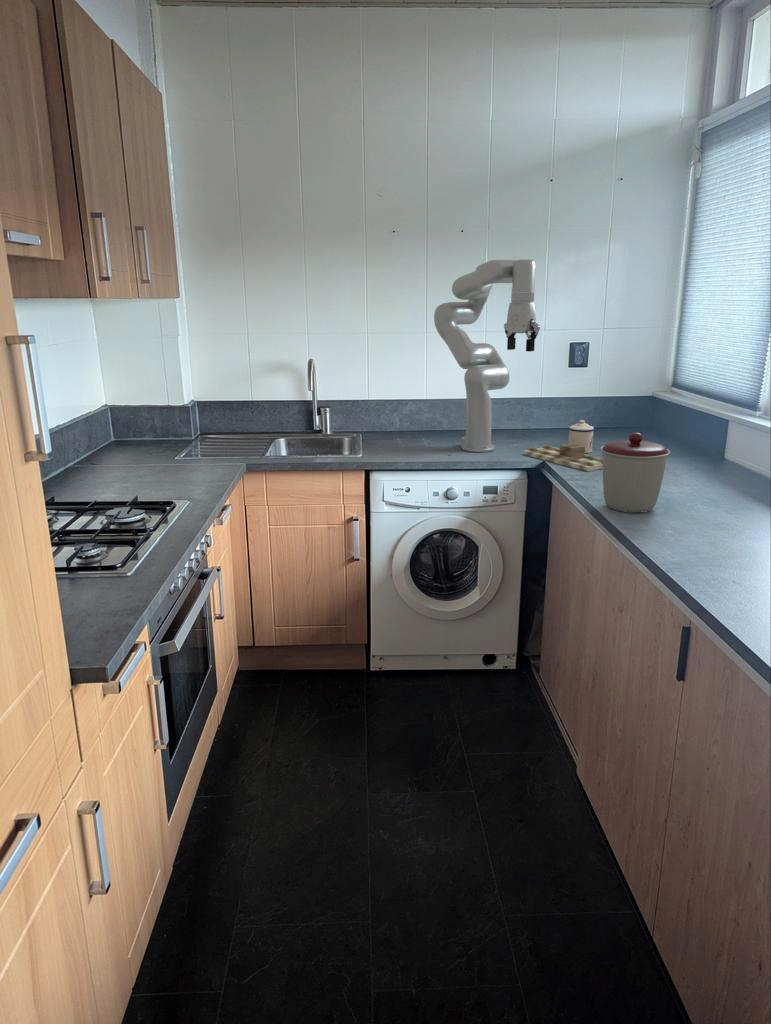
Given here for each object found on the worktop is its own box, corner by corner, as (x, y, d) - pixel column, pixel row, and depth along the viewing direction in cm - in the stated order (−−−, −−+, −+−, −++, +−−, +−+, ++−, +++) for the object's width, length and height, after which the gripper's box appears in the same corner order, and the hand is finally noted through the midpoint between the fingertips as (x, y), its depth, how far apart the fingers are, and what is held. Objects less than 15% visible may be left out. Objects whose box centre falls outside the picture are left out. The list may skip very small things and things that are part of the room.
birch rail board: (523, 454, 269) (524, 447, 268) (548, 450, 274) (548, 444, 274) (587, 471, 242) (588, 464, 241) (613, 467, 248) (613, 459, 247)
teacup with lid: (595, 453, 268) (597, 422, 265) (570, 454, 269) (572, 422, 265) (587, 447, 280) (589, 417, 277) (563, 447, 280) (565, 417, 277)
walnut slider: (559, 456, 257) (560, 445, 256) (571, 454, 260) (572, 443, 259) (571, 459, 252) (572, 448, 251) (584, 457, 255) (584, 446, 254)
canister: (679, 513, 196) (687, 436, 190) (623, 520, 190) (630, 441, 184) (634, 496, 212) (641, 424, 206) (582, 503, 206) (587, 429, 200)
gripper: (497, 298, 250) (495, 349, 255) (531, 298, 236) (529, 352, 241) (514, 298, 254) (512, 348, 258) (548, 298, 239) (546, 351, 244)
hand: (520, 350), depth 250 cm, fingers open, 9 cm apart
